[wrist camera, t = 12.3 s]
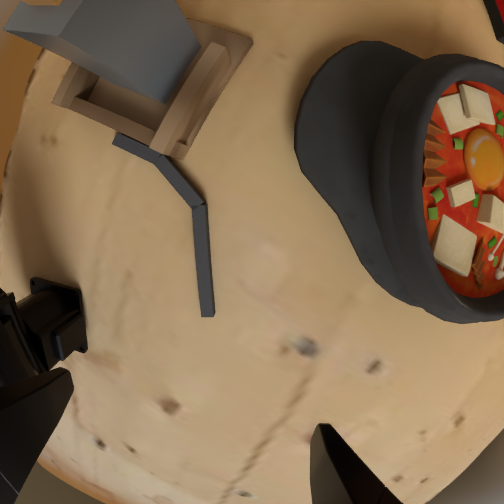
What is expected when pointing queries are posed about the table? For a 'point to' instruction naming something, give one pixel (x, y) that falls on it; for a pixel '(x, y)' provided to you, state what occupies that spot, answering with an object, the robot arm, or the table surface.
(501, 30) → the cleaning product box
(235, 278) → the table surface
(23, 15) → the block
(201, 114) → the tray
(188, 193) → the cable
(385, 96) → the casserole
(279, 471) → the table surface
